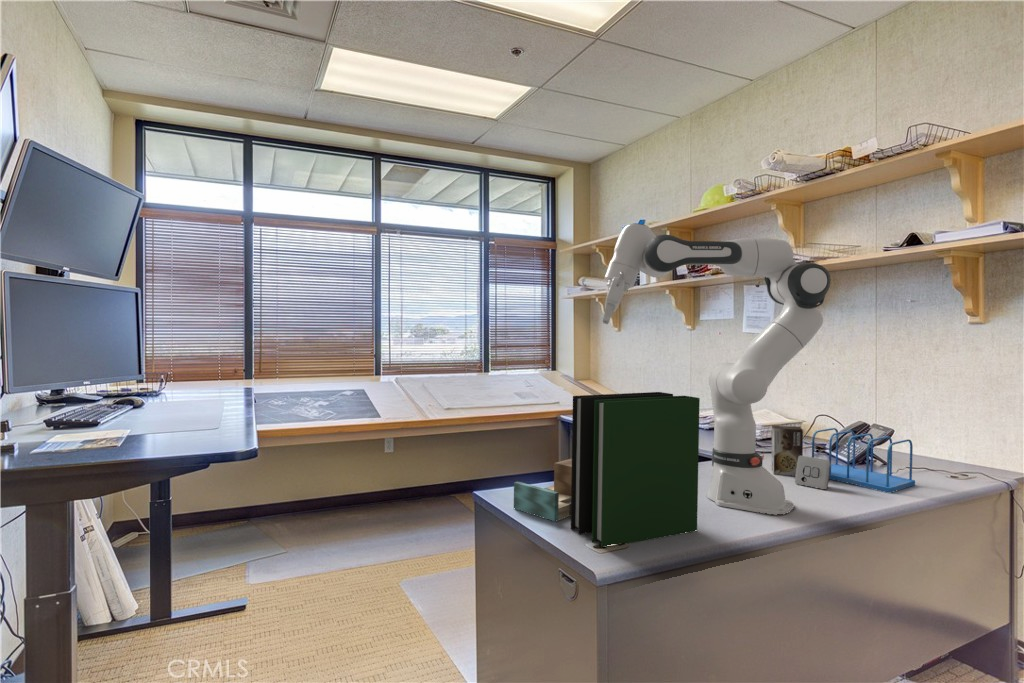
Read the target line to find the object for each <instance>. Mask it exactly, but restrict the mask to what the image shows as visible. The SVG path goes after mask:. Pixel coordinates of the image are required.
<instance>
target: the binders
mask: <svg viewBox="0 0 1024 683" xmlns="http://www.w3.org/2000/svg"><path fill="white" fill-rule="evenodd" d="M700 400H701V399H700V397H698V396H697V397H695V396H688V395H674V394H673V393H670V392H661V391H653V392H652V391H650V392H648V391H647V392H628V393H607V394H585V395H572V423H571V424H572V427H571V428H572V429H571V430H572V431H571V432H572V433H571V436H572V437H571V459H572V478H571V516H570V530H571V529H572V530H575V528H577V529H578V530H577V531H578V532H577V534H578V535H583V533H584V534H588V533H591V543H593V542H594V543H599V542H600V548H601V547H603V546H607V545H611V544H619V543H627V544H632V543H638V542H644V541H649V539H650V540H655V539H654V538H656V539H660V538H659V537H661V538H665V537H664V536H667V537H670V536H669V535H673V536H676V534H678V535H681V534H680V533H684V534H686V533H685V532H690V531H695V530H697V531H698V508H699V507H698V500H699V499H698V498H699V497H698V496H699V449H700V448H699V447H700V446H699V445H700V443H699V442H700V404H701V403H700V402H701V401H700ZM695 532H696V531H695ZM690 533H691V532H690ZM598 541H599V542H598Z"/></svg>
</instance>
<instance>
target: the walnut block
mask: <svg viewBox="0 0 1024 683" xmlns="http://www.w3.org/2000/svg"><path fill="white" fill-rule="evenodd" d="M553 464H554V465H553V467H554V468H553V469H554V470H553V471H554V472H553V477H554V478H553V483H554V484H553V486H554V491H555V492H559V493H561V494H564V495H568V496H571V478H572V458H569V459H564V460H561V461H557V462H554V463H553Z"/></svg>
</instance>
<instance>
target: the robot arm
mask: <svg viewBox="0 0 1024 683" xmlns="http://www.w3.org/2000/svg"><path fill="white" fill-rule="evenodd" d="M793 250H794V249H793V247H792V246H791V244H790V243H789V242H787V241H786V240H782V239H778V238H768V237H767V238H766V237H747V238H746V237H745V238H735V239H729V240H720V241H713V240H712V241H710V240H707V241H706V240H701V241H700V240H696V241H695V240H685V239H682V238H679V237H677V236H674V235H671V234H660V235H656V234H654V232H653V231H652V230H651V228H650V227H649V226H648V225H646V224H642V223H630V224H628V225H627V224H626V225H625V226H624V227H623V228H622V230H620V233H619V235H618V237H617V240H616V243H615V246H614V248H613V255H612V258H611V259H610V261H609V263H608V265H607V270H606V271H605V272H606V273H605V275H604V280H606V286H607V287H608V288H607V291H606V292H607V293H606V297H605V302H604V310H605V311H604V314H603V318H602V319H603V320H602V324H605V325H608V324H609V323H610V320H611V318H612V316H613V313H616V311H617V310H618V308H619V306H620V304H621V302H622V299H623V297H624V296H625V294H626V292H628V290H629V289H632V288H634V286H635V283H636V280H637V278H638V275H639V272H641V273H644V274H645V275H647V276H649V277H652V278H656V279H657V278H663V277H665V276H667V275H669V274H670V273H671V272H672V271H673V270H675V269H678V268H679V267H682V266H689V265H691V266H692V265H695V266H697V265H698V266H699V265H702V266H705V265H710V266H711V265H712V266H717V267H719V268H720V270H721V271H722V272H723V273H724V274H725V275H727V276H733V277H740V278H741V277H742V278H747V277H748V278H751V277H752V278H753V277H756V278H757V277H764V282H765V284H766V290H767V294H768V296H769V298H770V299H771V300H772V301H773V302H775V303H776V304H779V305H783V307H782V309H781V311H780V312H779V314H778V315H777V317H775V318H774V319H773V320H772V321H771V322H769V323H768V325H766V326H765V327H764V328H763V329H762V330H761V331H760V332H759V333H758V334H757V335H756V336H755V337H754V338H753V339H751V341H749V343H748V347H746V350H744V352H743V353H742V355H741V356H740V357H739V359H737V360H736V361H735V362H724V363H721V364H719V365H717V366H716V367H714V368H713V369H712V370H711V371H710V372H709V375H708V386H709V388H710V397H711V406H712V407H711V408H712V412H713V420H714V421H713V422H714V424H713V425H714V432H713V434H714V436H713V438H714V440H713V441H714V442H713V447H712V450H711V451H712V453H711V463H712V464H711V466H712V475H711V480H710V484H709V489H708V492H707V494H706V496H707V498H708V499H710V500H711V501H713V502H715V504H716V505H718V506H719V507H725V508H732V509H735V510H744V511H748V512H754V513H759V512H760V514H765V513H767V514H766V515H771V514H775V515H774V516H778V515H777V514H783V515H785V514H784V513H787V512H789V511H791V510H792V509H793V508H794V509H795V504H794V502H793V501H792V500H789V499H786V492H785V489H784V486H783V483H782V482H781V481H780V480H779V479H777V477H776V476H774V474H773V473H772V472H769V471H768V470H767V469H766V468H765V467H764V466H763V461H764V460H765V455H764V454H763V455H761V454H760V453H759V452H757V451H756V449H757V448H756V445H757V444H756V442H757V440H756V439H757V438H756V437H757V424H756V420H755V417H754V415H753V410H752V405H753V404H755V403H758V402H760V401H761V400H762V399H764V397H765V396H766V394H767V392H768V388H769V387H770V385H771V383H773V381H774V380H775V378H776V376H777V375H778V374H779V372H780V371H781V370H782V369H783V368H784V367H785V365H787V364H788V363H789V362H790V361H791V360H792V359H793V358H795V356H797V354H799V352H800V351H801V350H802V349H803V348H805V347H806V346H807V345H808V344H809V342H810V341H811V340H812V339H813V338H814V336H816V334H817V333H818V332H819V330H820V328H821V327H822V326H823V323H824V317H823V315H822V312H821V311H820V310H819V309H818V308H819V307H820V306H821V305H823V303H824V300H825V297H826V295H827V293H828V291H829V289H830V287H831V286H830V285H831V280H832V279H831V275H830V273H829V271H828V270H827V269H826V268H825V267H824V266H823V265H822V264H818V263H815V262H802V263H799V264H797V262H796V261H795V259H794V251H793ZM794 509H793V510H794ZM793 510H792V511H793ZM792 511H791V512H792ZM789 513H790V512H789ZM787 514H788V513H787Z"/></svg>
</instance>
